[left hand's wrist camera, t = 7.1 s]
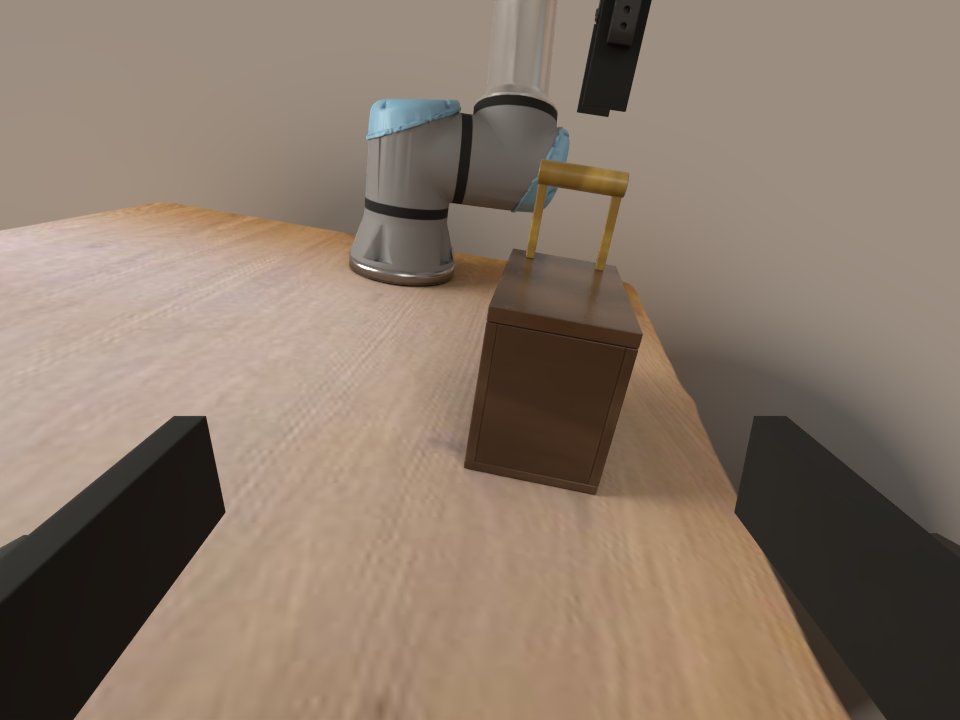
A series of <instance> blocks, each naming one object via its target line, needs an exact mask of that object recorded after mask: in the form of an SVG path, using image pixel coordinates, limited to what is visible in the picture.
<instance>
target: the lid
mask: <svg viewBox="0 0 960 720" xmlns="http://www.w3.org/2000/svg"><path fill="white" fill-rule="evenodd" d="M628 181H629V173H628V172H622V171H615V170H609V169H602V168H596V167H590V166H584V165H578V164H571V163H565V162H559V161H552V160H546V159H541V163H540V168H539V173H538V179H537V184H539V185H538V191H537V196H536V202H535V207H534V213H533V219H532V224H531V230H530V235H529V241H528V247H527V251H524V250H518V249H513V250H512V253H511V255H510V257H509V260H508V262H507V264H506V267H505V269H504V272H503V274H502V276H501V279H500V281H499V284H498V286H497V288H496V291H495V293H494V295H493V298H492V300H491V303H490V305H489V308H488V315H487V321H490V322H495V323H501V324H506V325H512V326H517V327H523V328H528V329H534V330H539V331H544V332H550V333H555V334H561V335H566V336H572V337H577V338H583V339H588V340H593V341H599V342H604V343H610V344H615V345H621V346H626V347H632V348H637V349H638V348H639V346H640V342H641V339H642V336H643V333H642V331H641V328H640V326H639V323H638V321H637V318H636V316H635V313H634V311H633V308H632V306H631V303H630V301H629V298H628V296H627V293H626V291H625V288H624V286H623V283H622V281H621V278H620V276H619V273H618V271H617V268H616V266H611V265H605V263H606V259H607V255H608V251H609V247H610V242H611V239H612V234H613V230H614V226H615V222H616V218H617V214H618V210H619V206H620V202H621V198H623V197H624V195H625V193H626V189H627V186H628ZM547 186H553V187H559V188H565V189H572V190H577V191H584V192H590V193H596V194H602V195H608V196H612V198H611V202H610V206H609V210H608V215H607V219H606V223H605V227H604V232H603V236H602V240H601V244H600V248H599V252H598V257H597V261H596V263H594V262H588V261H582V260H576V259H570V258H565V257H559V256H553V255H547V254H541V253H536V252H535V250H536V244H537V239H538V233H539V228H540V223H541V217H542V212H543V207H544V201H545V196H546V190H547Z"/></svg>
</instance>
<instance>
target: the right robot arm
mask: <svg viewBox="0 0 960 720" xmlns="http://www.w3.org/2000/svg"><path fill="white" fill-rule="evenodd" d="M651 1H652V0H600V3H599V8H598V9H597V10H596V14H595V16H596V17H595V21H596V24H594V28H593V34H592V38H591V43H590V48H589V54H588V59H587V64H586V69H585V74H584V79H583V84H582V89H581V94H580V99H579V104H578V109H577V112H579V113H585V114H592V115H598V116H605V117H608V116H609V111H610V110H616V111H622V112H625V111H626V108H627V104H628V99H629V95H630V91H631V86H632V82H633V78H634V73H635V69H636V65H637V60H638V56H639V52H640V48H641V43H642V39H643V35H644V31H645V26H646V22H647V18H648V13H649V9H650V5H651ZM556 10H557V0H494V12H493V23H492V35H491V46H490V58H489V69H488V80H487V92H486V94H484V95H483V96H482V97H481V98H479V99H478V100H477V101H476V102H475V105H474V113H473V115H471V114H464V113H459V111H461V107H460V103H459V101H457V100H433V99H382V100H379V101H377V102H376V103H375V104H374V105H373V106H372V108H371V111H370V119H369V130H368V135H367V136H366V139H367V140H368V157H367V175H366V193H365V212H364V216H363V219H362V221H361V224H360V227H359V229H358V232H357V234H356V237H355V240H354V242H353V245H352V248H351V251H350V256H349V266H350V268H351V269H352V270H353V271H354V272H356V273H357V274H359V275H361V276H364V277H366V278H369V279H373V280H376V281H381V282H386V283H392V284H399V285H414V286H423V285H435V284H441V283H444V282H447V281H449V280H451V279H452V277H453V274H454V265H455V263H454V250H453V247H452V248H451V243H450V237H449V232H448V227H447V216H448V207H449V203H456V204H463V205H471V206H479V207H487V208H494V209H502V210H510V211H511V212H516V211H520V212H534V207H535V202H536V196H537V191H538V185H539V184H537V179H538V173H539V168H540V163H541V159H546V160H552V161H559V162H565V163H566V161H567V156H568V150H569V134H568V131H567V130H565V129H563V128H562V127H559V128H557V126H556V125H557V108H556V106H555V105H554V104H553V103H552V102H551V101H550V100H549V98H548V93H549V82H550V72H551V62H552V51H553V41H554V30H555V20H556ZM557 188H558V187H553V186H547V190H546V196H545V201H544V207H543V209H544V208H546V207H547V206H548V204H549V203H550V202H551V200H552V198H553V197H554V195H555V193H556V191H557Z"/></svg>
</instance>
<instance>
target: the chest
mask: <svg viewBox="0 0 960 720" xmlns="http://www.w3.org/2000/svg"><path fill="white" fill-rule="evenodd" d="M637 353H638V349H637V348H632V347H626V346H621V345H615V344H610V343H604V342H599V341H593V340H588V339H583V338H577V337H572V336H566V335H561V334H555V333H550V332H544V331H539V330H534V329H528V328H523V327H517V326H512V325H506V324H501V323H495V322H490V321H487V322H486V328H485V334H484V341H483V347H482V354H481V360H480V366H479V373H478V379H477V386H476V392H475V399H474V405H473V412H472V418H471V424H470V431H469V437H468V444H467V450H466V457H465V463H464V468H468V469H473V470H478V471H483V472H488V473H493V474H497V475H502V476H507V477H512V478H517V479H522V480H527V481H531V482H536V483H541V484H546V485H551V486H556V487H561V488H566V489H570V490H575V491H580V492H585V493H590V494H596V492H597V489H598V486H599V482H600V479H601V476H602V472H603V469H604V465H605V462H606V458H607V455H608V452H609V448H610V445H611V441H612V438H613V435H614V431H615V428H616V424H617V421H618V417H619V414H620V411H621V407H622V404H623V400H624V397H625V394H626V390H627V387H628V383H629V380H630V377H631V373H632V370H633V366H634V363H635V359H636V356H637Z"/></svg>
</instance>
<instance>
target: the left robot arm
mask: <svg viewBox="0 0 960 720" xmlns="http://www.w3.org/2000/svg"><path fill="white" fill-rule="evenodd" d="M224 514H225V507H224V502H223V497H222V492H221V487H220V483H219V478H218V473H217V468H216V463H215V458H214V453H213V448H212V443H211V439H210V434H209V429H208V424H207V419H206V416H173V417H172V418H171V419H170V420H169V421H167V422H166V423H165V424H164V425H162V426H161V427H160V428H159V429H158V430H156V431H155V432H154V433H153V434H151V435H150V436H149V437H148V438H147V439H145V440H144V441H143V442H142V443H140V444H139V445H138V446H137V447H136V448H134V449H133V450H132V451H131V452H129V453H128V454H127V455H126V456H125V457H123V458H122V459H121V460H120V461H118V462H117V463H116V464H115V465H114V466H112V467H111V468H110V469H109V470H107V471H106V472H105V473H104V474H103V475H101V476H100V477H99V478H98V479H96V480H95V481H94V482H93V483H92V484H90V485H89V486H88V487H87V488H85V489H84V490H83V491H82V492H81V493H79V494H78V495H77V496H76V497H74V498H73V499H72V500H71V501H70V502H68V503H67V504H66V505H65V506H63V507H62V508H61V509H60V510H59V511H57V512H56V513H55V514H54V515H52V516H51V517H50V518H49V519H48V520H46V521H45V522H44V523H43V524H41V525H40V526H39V527H38V528H37V529H35V530H34V531H33V532H32V533H30V534H29V535H23V536H21V537H20V538H18V539H16V540H14V541H12V542H10V543H9V544H7V545H5V546H3V547H1V548H0V720H73V719H74V718H75V717H76V715H77V714H78V713H79V711H80V710H81V709H82V707H83V706H84V704H85V703H86V702H87V700H88V699H89V698H90V696H91V695H92V694H93V692H94V691H95V690H96V688H97V687H98V685H99V684H100V683H101V681H102V680H103V679H104V677H105V676H106V675H107V673H108V672H109V670H110V669H111V668H112V666H113V665H114V664H115V662H116V661H117V660H118V658H119V657H120V655H121V654H122V653H123V651H124V650H125V649H126V647H127V646H128V645H129V643H130V642H131V640H132V639H133V638H134V636H135V635H136V634H137V632H138V631H139V630H140V628H141V627H142V625H143V624H144V623H145V621H146V620H147V619H148V617H149V616H150V615H151V613H152V612H153V610H154V609H155V608H156V606H157V605H158V604H159V602H160V601H161V600H162V598H163V597H164V596H165V594H166V593H167V591H168V590H169V589H170V587H171V586H172V585H173V583H174V582H175V581H176V579H177V578H178V576H179V575H180V574H181V572H182V571H183V570H184V568H185V567H186V566H187V564H188V563H189V561H190V560H191V559H192V557H193V556H194V555H195V553H196V552H197V551H198V549H199V548H200V546H201V545H202V544H203V542H204V541H205V540H206V538H207V537H208V536H209V534H210V533H211V531H212V530H213V529H214V527H215V526H216V525H217V523H218V522H219V521H220V519H221V518H222V516H223V515H224ZM735 514H736V515H737V516H738V518H739V519H740V521H741V522H742V523H743V525H744V526H745V527H746V529H747V530H748V531H749V533H750V534H751V536H752V537H753V538H754V540H755V541H756V542H757V544H758V545H759V546H760V548H761V549H762V551H763V552H764V553H765V555H766V556H767V557H768V559H769V560H770V561H771V563H772V564H773V565H774V567H775V568H776V570H777V571H778V572H779V574H780V575H781V576H782V578H783V579H784V580H785V582H786V583H787V585H788V586H789V587H790V589H791V590H792V591H793V593H794V594H795V596H796V597H797V598H798V600H799V601H800V602H801V604H802V605H803V606H804V608H805V609H806V610H807V612H808V613H809V615H810V616H811V617H812V619H813V620H814V621H815V623H816V624H817V625H818V627H819V628H820V630H821V631H822V632H823V634H824V635H825V636H826V638H827V639H828V640H829V642H830V643H831V645H832V646H833V647H834V649H835V650H836V651H837V653H838V654H839V655H840V657H841V658H842V659H843V661H844V662H845V664H846V665H847V666H848V668H849V669H850V670H851V672H852V673H853V675H854V676H855V677H856V678H857V680H858V681H859V683H860V684H861V685H862V687H863V688H864V690H865V691H866V692H867V694H868V695H869V696H870V698H871V699H872V700H873V702H874V703H875V704H876V706H877V707H878V709H879V710H880V711H881V713H882V714H883V715H884V717H885V718H886V719H887V720H960V546H959V545H958V544H956V543H954V542H952V541H950V540H948V539H946V538H945V537H943V536H941V535H939V534H937V533H928V532H927V531H926V530H925V529H923V528H922V527H921V526H920V525H919V524H917V523H916V522H915V521H914V520H912V519H911V518H910V517H909V516H907V515H906V514H905V513H904V512H903V511H901V510H900V509H899V508H898V507H897V506H895V505H894V504H893V503H892V502H890V501H889V500H888V499H887V498H886V497H884V496H883V495H882V494H881V493H879V492H878V491H877V490H876V489H875V488H873V487H872V486H871V485H870V484H868V483H867V482H866V481H865V480H863V479H862V478H861V477H860V476H859V475H857V474H856V473H855V472H854V471H853V470H851V469H850V468H849V467H848V466H846V465H845V464H844V463H843V462H842V461H840V460H839V459H838V458H837V457H835V456H834V455H833V454H832V453H831V452H829V451H828V450H827V449H826V448H824V447H823V446H822V445H821V444H820V443H818V442H817V441H816V440H815V439H813V438H812V437H811V436H810V435H809V434H807V433H806V432H805V431H804V430H802V429H801V428H800V427H799V426H798V425H796V424H795V423H794V422H793V421H791V420H790V419H789V418H788V417H787V416H754V419H753V424H752V429H751V434H750V439H749V443H748V448H747V454H746V458H745V463H744V468H743V473H742V478H741V483H740V487H739V492H738V497H737V502H736V507H735Z"/></svg>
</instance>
